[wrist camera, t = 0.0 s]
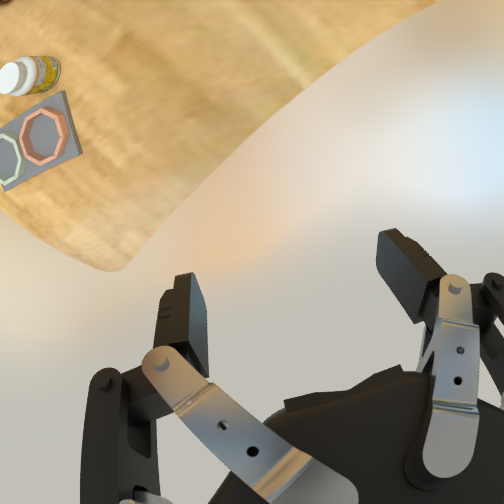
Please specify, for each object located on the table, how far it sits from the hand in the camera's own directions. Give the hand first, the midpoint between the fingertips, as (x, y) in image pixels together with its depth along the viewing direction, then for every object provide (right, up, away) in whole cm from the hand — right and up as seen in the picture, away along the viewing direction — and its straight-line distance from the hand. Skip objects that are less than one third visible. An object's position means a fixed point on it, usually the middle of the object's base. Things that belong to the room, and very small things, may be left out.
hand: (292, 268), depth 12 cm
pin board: (-35, +17, +19) cm, 43 cm away
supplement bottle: (-30, +26, +14) cm, 42 cm away
